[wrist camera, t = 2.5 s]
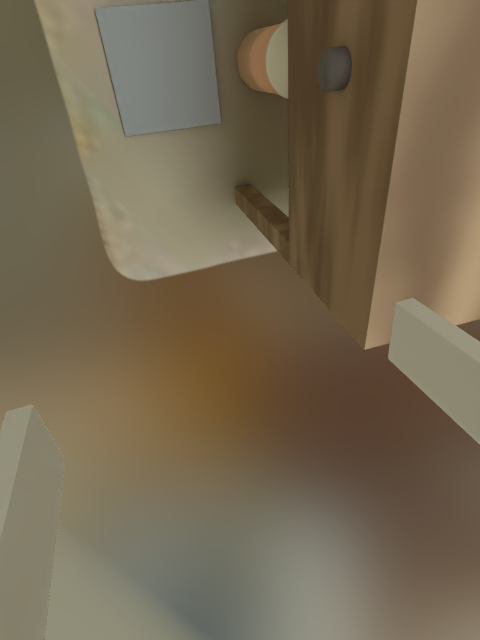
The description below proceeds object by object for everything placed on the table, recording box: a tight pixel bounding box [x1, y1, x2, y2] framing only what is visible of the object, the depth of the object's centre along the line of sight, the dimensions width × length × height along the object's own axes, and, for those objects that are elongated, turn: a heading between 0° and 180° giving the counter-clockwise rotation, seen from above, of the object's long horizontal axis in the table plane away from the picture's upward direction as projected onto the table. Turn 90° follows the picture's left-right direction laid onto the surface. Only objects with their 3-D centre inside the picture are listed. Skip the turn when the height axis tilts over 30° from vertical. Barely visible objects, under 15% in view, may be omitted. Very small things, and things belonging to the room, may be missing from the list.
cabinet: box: [235, 0, 480, 350], centre depth 27 cm, size 19×28×29 cm
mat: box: [95, 0, 221, 136], centre depth 36 cm, size 10×10×1 cm
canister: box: [237, 19, 288, 99], centre depth 34 cm, size 6×6×10 cm
